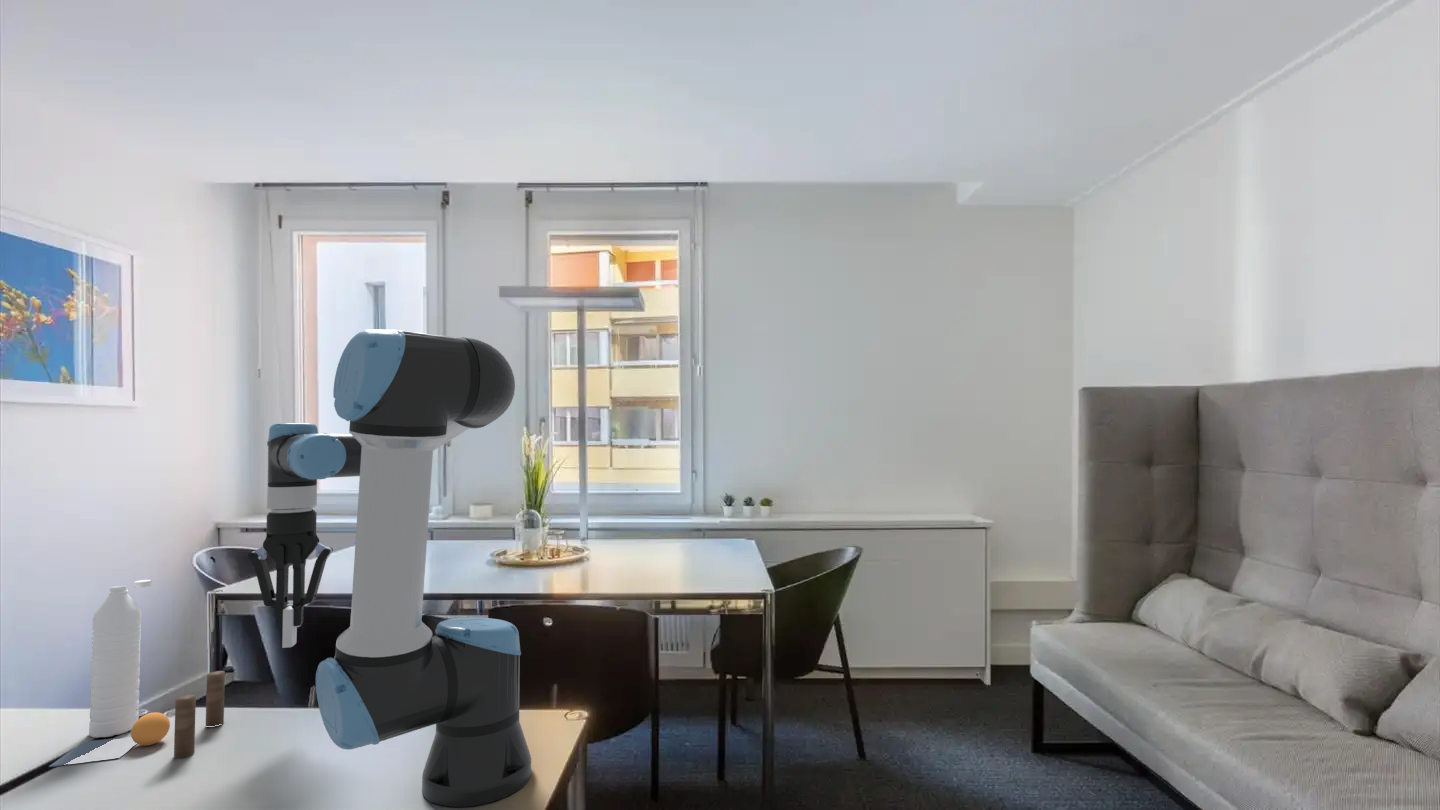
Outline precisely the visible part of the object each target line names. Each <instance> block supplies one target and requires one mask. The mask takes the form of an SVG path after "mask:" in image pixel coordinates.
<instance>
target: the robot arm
mask: <svg viewBox="0 0 1440 810" xmlns="http://www.w3.org/2000/svg"><path fill="white" fill-rule="evenodd" d="M515 390H516V381H515V376H514V373H513V369H512V367H511V365H510V363H509V361H508V360H507V359H506V357H505V355H503V354H502V353H501V352H500V350H498V349H497V348H495V347H493V346H492V345H490V344H488V343H486V342H484V341H482V340H479V339H475V338H472V337H471V338H470V337H464V336H463V337H457V336H449V335H448V336H447V335H440V334H430V333H422V332H416V331H415V332H413V331H407V330H400V329H375V328H374V329H373V328H372V329H370V328H369V329H365V330H362V331H360V332H358V333H356V334H355V335H354V336H353V337H352V338H351V339H350V340H349V342H348V343H347V344H346V346H345V347H344V349H343V351H342V353H341V356H340V358H339V360H338V363H337V368H336V371H335V376H334V380H333V390H332V391H333V393H332V394H333V398H334V402H333V404H334V405H333V406H334V409H335V412H336V414H337V416H338V417H339V418H341V419H342V420H345V421H347V422H349V429H348V431H349V433H326V432H325V433H324V432H319V431H318V426H317V425H316V424H314V423H304V422H297V423H296V422H287V423H285V422H283V423H281V422H280V423H279V422H278V423H274V424H272V425H270V427H269V428H268V429H269V430H268V439H267V441H266V446H267V450H268V451H267V491H266V492H267V493H266V494H267V495H266V509H268V510H269V511H270V512H268V513H267V514H266V534H265V535H266V536H265V539H264V541H263V543H262V546H260V547H259V548H257V549H256V550H254V551H251V552H249V553H247V559H248V560H249V561H250V563H251V564H252V565H253V566H254V570H255V574H256V578H257V583H258V585H259V590H260V594H261V598H262V601H263V605H264V607H270V608H274V609H275V611H276V616H275V617H276V618H275V619H276V622H275V625H276V628H278V629H280V628H282V640H281V641H282V644H281V645H282V648H283V649H284V648H285V649H286V648H292V647H294V646H295V645H296V644H297V641H298V640H297V636H298V635H297V634H298V633H297V632H298V630H297V629H298V627H300V626H302V624H303V623H304V609H305V608H304V606H306V605H310V604H311V603H313V601H315V600H316V598H317V595H318V591H319V588H320V587H319V586H320V584H321V580H322V576H323V573H324V569H325V566H326V562H327V560H328V558H329V557H330V555H331V554H332V553H333V551H334V549H333V547H332V546H326V545H325V544H322V543H321V542H320V539H319V537H318V534H317V515H318V513H317V511H316V510H315V509H313V508H316V507H317V506H318V505H317V503H318V500H317V499H318V498H317V497H318V494H317V493H318V480H326V479H328V478H332V479H333V478H346V477H347V478H348V477H359V482H358V497H357V515H356V517H357V518H356V528H355V529H356V530H355V545H354V546H355V547H354V559H353V560H354V564H353V575H352V576H353V577H352V593H351V594H352V596H351V610H350V622H349V623H350V624H349V625H350V626H349V627H348V628H347V629H345V630H344V631H343V632H342V633H340V634H339V635H338V637H337V638H336V640H335V641H336V643H335V654H334V657H327V658H326V659H324V660H322V661H320V662H319V664H318V666H317V669H316V673H315V691H316V699H317V703H318V709H319V713H320V716H321V720H322V722H323V726H324V728H325V730H326V732H327V734H328V736H329V739H330V740H332V742H333V744H335V745H336V746H337V747H338V748H340V749H342V750H349V751H350V750H354V749H359V748H362V747H366V746H369V745H378V744H380V742H383V741H387V740H389V739H393V738H396V737H400V736H403V735H405V734H408V733H412V732H415V731H419V730H422V729H424V728H428V727H430V726H434V725H435V734H434V737H433V738H434V739H433V740H432V743H431V747H430V748H429V749H430V750H429V753H428V757H427V758H426V762H425V766H424V768H423V771H422V775H421V776H422V778H421V780H422V781H421V783H422V784H421V791H422V793H421V794H422V795H423V797H424V798H425V799H426V800H427V801H429V802H430V803H433V804H436V805H439V806H444V807H452V808H454V807H457V808H463V807H465V808H466V807H474V806H479V805H484V804H488V803H492V802H496V801H499V800H501V799H503V798H506V797H508V796H510V795H512V794H514V793H515V792H517V791H519V790H520V789H521V788H522V787H524V786H525V785H526V784H527V783H528V782H529V780H530V778H531V776H532V757H531V752H530V749H529V746H528V744H527V740H526V737H525V735H524V731H523V727H522V724H521V722H520V675H521V674H520V673H521V672H520V671H521V670H520V663H521V662H520V656H521V655H522V651H521V645H520V635H519V634H520V633H519V630H518V628H517V626H515V624H513V623H512V622H509V621H507V620H503V619H498V618H491V617H489V618H488V617H475V616H474V617H470V616H469V617H454V618H447V619H444V620H443V621H440V622H439V623H438V624H437V625H436V628H435V634H436V635H433V631H432V629H430V627H429V626H428V625H426V623H424V622H423V621H422V618H423V605H424V604H423V602H424V591H425V590H424V589H425V573H426V561H427V560H426V559H427V558H426V557H427V544H428V532H429V531H428V530H429V516H430V514H429V513H430V499H431V489H432V488H431V486H432V471H433V470H432V469H433V458H434V457H433V455H434V451H436V450H437V449H439V448H440V447H442V446H443V445H445V444H447V443H448V442H450V441H451V440H453V439H454V438H456V437H458V436H460V435H461V434H462V433H464V432H466V431H467V430H469V429H473V430H474V429H481V428H484V427H486V426H488V425H491V423H493V422H494V421H496V420H498V419H499V418H500V417H501V416H503V414H504V413H506V411H507V410H508V409H509V407H510V405H511V404H512V402H513V399H514V396H515ZM314 551H315V554H314V555H315V557H316V560H315V562H314V566H313V569H312V572H311V575H310V579H309V584H308V586H307V590H306V592H305V587H306V586H305V583H306V581H305V580H306V579H305V578H306V566H307V565H306V563H307V559H308V558H309V557H311V555H312V553H313V552H314ZM267 554H268V555H269V556H270V558H271V560H273V561H274V562H275V570H276V577H275V578H276V579H275V580H276V582H275V589H274V585H273V581H272V576H271V573H270V569H269V565H268V561H267V560H266V559H267V557H268V556H267ZM290 564H292V569H293V575H292V605H289V604H290V601H289V573H290V571H289V570H290V569H289V568H290ZM305 593H306V594H305ZM288 605H289V606H288Z"/></svg>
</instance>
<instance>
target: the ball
mask: <svg viewBox="0 0 1440 810" xmlns="http://www.w3.org/2000/svg"><path fill="white" fill-rule="evenodd" d="M170 728H171V721H170V719H169V717H168V716H167V715H165V714H164V713H161V712H155V711H154V712H149V713H146V714H144V715H142V716H141V717H139V719H138V720H137V721H136V722H135V724H134V725H133V727H132V730H130V736H131V737H132V739H133V741H134V742H135V743H137V745H140V746H151V745H154V744H157V743H159V742H160V741H162V740H163V739H164V738H165V737H166V735H167V734H168V733H169V730H170Z"/></svg>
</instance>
